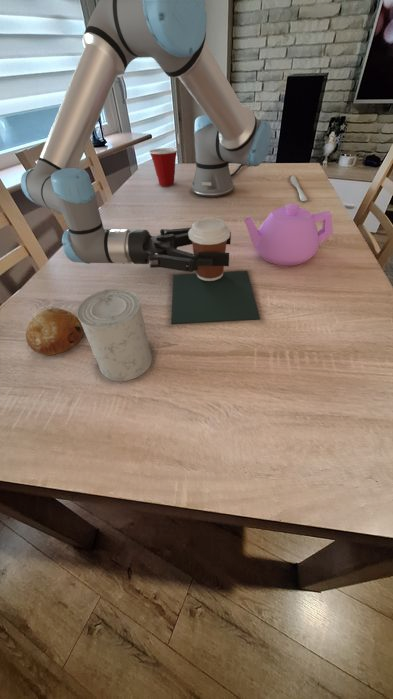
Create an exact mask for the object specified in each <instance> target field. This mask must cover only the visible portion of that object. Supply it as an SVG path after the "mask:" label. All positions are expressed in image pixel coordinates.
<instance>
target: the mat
mask: <svg viewBox="0 0 393 699" xmlns="http://www.w3.org/2000/svg"><path fill="white" fill-rule="evenodd" d="M249 275H250V274H249V272H248V270H236V271H235V270H233V271H223V276H222V277H221V278H220V279H217V280H213V281H205V280H202V279H200V278H198V277H197V274H196V273H182V274H173V276H172V295H171V297H172V299H171V316H170V317H171V318H170V324H171V325H180V324H181V325H182V324H200V323H201V324H202V323H218V322H236V321H237V322H238V321H240V322H241V321H258V320H261V316H260V312H259V309H258V305H257V301H256V299H255V294H254V291H253V287H252V282H251V279H250V276H249Z"/></svg>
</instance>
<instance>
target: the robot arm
mask: <svg viewBox="0 0 393 699" xmlns="http://www.w3.org/2000/svg"><path fill="white" fill-rule="evenodd" d="M205 6H206V1H205V0H98V2H97V4H96V6H95V8H94V9H93V12H92V14H91V16H90V18H89V21H88V23H87V25H86V27H85V30H84V33H83V35H82V40H81V41H82V44H83V47H84V48H83V50H82V53H81V55H80V58H79V59H78V62H77V65H76V68H75V70H74V72H73V75H72V77H71V80H70V82H69V85H68V87H67V89H66V92H65V94H64V97H63V99H62V101H61V103H60V105H59V109H58V111H57V113H56V116H55V118H54V120H53V123H52V126H51V128H50V131H49V133H48V136H47V138H46V139H45V142H44V145H43V147H42V150H41V152H40V155H39V157H38V159H37V162H36V164H35V167H33V168H29V169H27V170H26V171H24V172H23V173H22V175H21V177H20V187H21V190H22V193H23V194H24V195H25V197H26V198H27V199H28V200H30V202H32V203H34V204H35V205H37V206H39V207H41V208H45V209H48V210H50V211H52V212H55V213H57V214H59V215H61V216H62V217H63V219H64V221H65V224H66V226H67V229H65V231H64V232H63V234H62V238H61V244H62V251H63V253H64V255H65V256H66V258H67V259H68V260H69V261H71V262H73V263H83V264H88V265H89V264H122V265H126V264H129V265H130V264H134V265H148V264H149V268H151V269H152V268H153V269H155V268H156V269H157V268H158V269H159V268H161V269H167V270H175V271H181V272H188V273H193V272H194V271H195V272H196V271H197V270H198V266H224V267H229V266H230V252H225V253H211V252H198V257H197V255H195V254H194V253H191V252H189V251H186V250H181V249H178V248H181V247H185V246H190V245H192V241H191V240H190V239H189V236H188V232H189V230H190V228H191V227H183V228H182V227H181V228H172V229H168V228H161V229H159V232H160V233H159V234H157V235H151V234H150V232H149V231H148V230H147V229H131V230H130V229H129V228H124V229H123V228H121V229H119V228H116V229H114V228H112V229H111V228H110V229H107V228H104V224H103V219H102V218H101V213H100V208H99V205H98V199H97V197H96V191H95V188H94V186H93V183H92V181H91V178H90V175H89V172H88V171H87V170H85V169H84V168H82V167H79V164H80V162H81V160H82V158H83V155H84V154H85V151H86V149H87V147H88V145H89V142H90V139H91V138H92V135H93V134H94V133H93V132H94V131H95V128H96V125H97V123H98V121H99V119H100V117H101V114H102V112H103V110H104V107H105V105H106V103H107V100H108V99H109V96H110V94H111V91H112V89H113V87H114V85H115V82H116V80H117V78H121V77H123V76H124V74H125V72H126V70H127V67H128V66H129V64H130V63H131V62H133V61H134V60H135V59H138V58H151V59H153V60H154V61H155V62H156V64H158V66H159V67H160V68H161V69H162V71H163V72H164V73H165V75H166V76H168V77H169V78H172V79H177V78H178V79H179V81H180V82H181V83H182V85H183V86H184V88H185V89H186V90H187V92H188V93H189V94H190V95H191V97H192V98H193V99H194V101H195V102H196V103H197V105H198V106H199V107H200V109H201V110H202V112H203V113H204V114H203V115H199V116H197V117H196V118H195V120H194V131H193V134H194V135H193V136H194V151H195V152H194V153H195V172H194V176H193V181H192V185H191V191H192V193H193V195H195V196H199V197H201V198H220V197H225V196H227V195H229V194H231V193H232V192H233V191H234V183H233V180H232V178H233V177H234V176H235V175H236V174H237V173H238V172H239V171H240V170H241V168H242V167H244V166H247V167H259V166H260V165H261V164H262V163H263V162H264V161H265V159H266V157H267V156H268V155H267V154H268V152H269V149H270V146H271V141H272V127H271V126H272V125H271V124H270V123H269V122H268V121H265V120H258V118H257V116H256V115H255V113H254V111H253V110H252V109H251V108H250V107H248V106H243V104H242V102H241V101H240V99H239V98H238V95H237V94H236V92H235V90H234V89H233V87H232V86H231V83H230V82H229V80H228V78H227V76H226V75H225V73H224V71H223V70H222V67H221V66H220V65H219V63H218V61H217V59H216V58H215V55H214V54H213V52H212V50H211V49H210V47H209V45H208V44H207V35H208V34H207V33H208V32H207V24H208V13H207V11H206V10H205ZM230 163H233V164H238V165H239V166H238V167H237V169H236V170H235V171H233V173H232V174H231V171H230V166H229V164H230ZM231 242H232V232H231V231H230V237H229V238H228V239H227V243H226V245H231Z"/></svg>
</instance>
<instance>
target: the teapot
mask: <svg viewBox="0 0 393 699" xmlns="http://www.w3.org/2000/svg"><path fill="white" fill-rule="evenodd" d="M300 206H301V205H299V204H298V203H293V202H291V203H287V204H285V206H281V207H278V208H275V209H274V210H272V211H271V212H270V213H269V214H268V215H267V217H266V218H265V220H264V221H263V222H262V224H261V225H260V227H259V229H258V228H257V226H256V224H255V222H254V220H253V217H252V216H249V217H243V218H244V219H243V220H244V223H245V226H246V229H247V231H248V234H249V238H250V240H251V243H252V246H253V249H255V250H256V251H257V253H258V255H259V256H260V257H261V258H262V259H263V260H264V261H266V262H267V263H270V264H274V265H278V266H287V267H289V266H297V265H301V264H303V263H306V262H307V261H308V260H310V259H311V258H312V257H314V256H315V255H316V253H317V252H318V249H319V245H320V244H321V243H323V242H324V241H325V240H327V239H329V238H330V237H332V236H333V234H334V228H333V215H332V212H331V211H330V210H325V211H320V212H316V213H315V212H314V213H311V212H310V211H309V210H307V209H306V208H303V207H300ZM318 222H322V228H321V229H319V230H318V226H317V224H316V223H318Z"/></svg>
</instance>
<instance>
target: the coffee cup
mask: <svg viewBox="0 0 393 699" xmlns="http://www.w3.org/2000/svg"><path fill="white" fill-rule="evenodd" d="M192 223H193V224H192V227H189V228H190V230H189V232H188V236H189V239H190V240H191V241H192V244H191V245H192V251H193V254H195V255H197V257H198V252H211V253H227V251H226V250H227V244H226V243H227V239H228V238H229V237H230V232H231V229H230V227H229V226H227V224H226V221H225V220H223V219H222V218H219V217H214V216H207V217H201V218H198V219H196V220H195V221H194V222H192ZM224 269H225V266H198V270H197V271H195V274H197V277H198V278H200V279H202V280H205V281H213V280H217V279H220V278H221V277H222V276H223V272H224V271H225V270H224Z"/></svg>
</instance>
